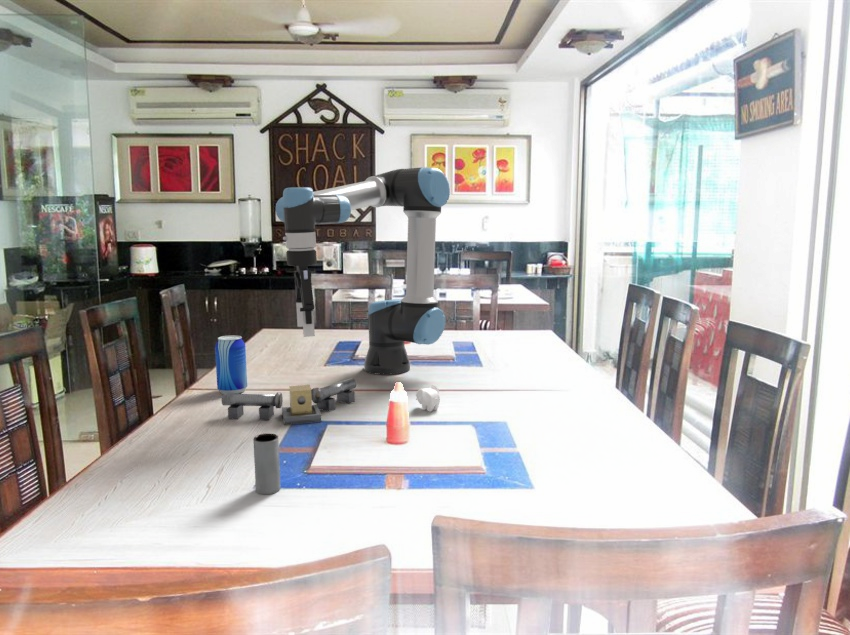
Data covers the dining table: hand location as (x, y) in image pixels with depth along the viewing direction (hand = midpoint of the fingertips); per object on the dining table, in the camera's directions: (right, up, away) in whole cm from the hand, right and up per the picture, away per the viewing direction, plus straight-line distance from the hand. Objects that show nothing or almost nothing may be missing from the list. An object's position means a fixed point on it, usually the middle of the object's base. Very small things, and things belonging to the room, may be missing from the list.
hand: (305, 331), depth 170 cm
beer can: (-25, -18, +21) cm, 38 cm away
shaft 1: (-13, -22, -3) cm, 26 cm away
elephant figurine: (+32, -21, +3) cm, 38 cm away
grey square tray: (0, -22, -4) cm, 22 cm away
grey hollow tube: (+1, -29, -47) cm, 55 cm away
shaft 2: (+7, -20, +7) cm, 22 cm away
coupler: (0, -21, -4) cm, 21 cm away
